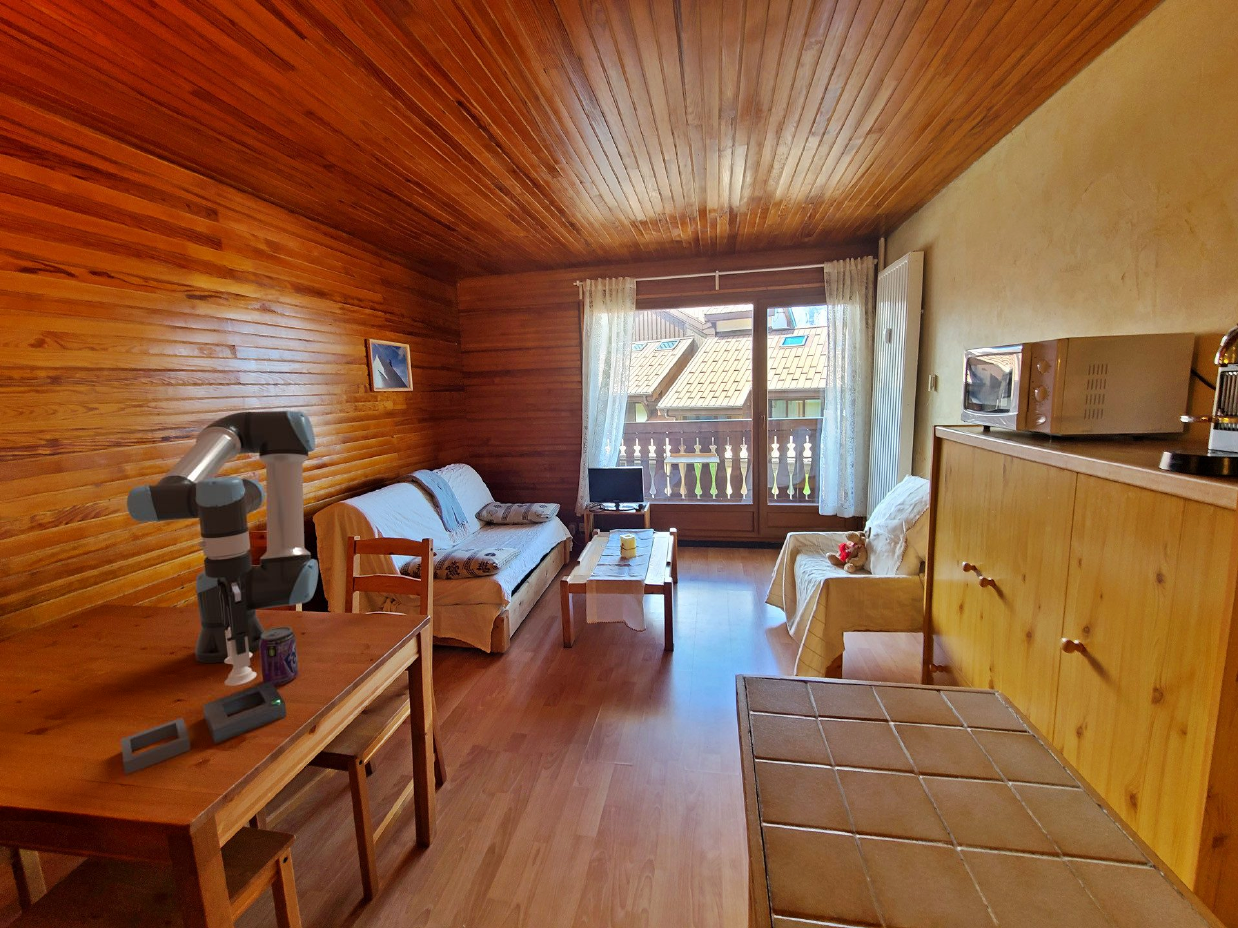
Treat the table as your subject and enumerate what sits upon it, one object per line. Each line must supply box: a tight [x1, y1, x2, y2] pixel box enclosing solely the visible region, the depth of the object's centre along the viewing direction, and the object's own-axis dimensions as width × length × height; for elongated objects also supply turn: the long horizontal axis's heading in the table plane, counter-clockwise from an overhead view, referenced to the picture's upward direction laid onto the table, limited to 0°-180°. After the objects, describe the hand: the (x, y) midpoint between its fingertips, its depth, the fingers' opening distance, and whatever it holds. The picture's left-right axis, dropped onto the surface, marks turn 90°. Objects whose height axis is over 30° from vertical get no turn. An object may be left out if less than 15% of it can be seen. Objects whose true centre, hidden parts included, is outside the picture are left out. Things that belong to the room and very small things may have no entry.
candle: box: [223, 627, 257, 687], centre depth 104 cm, size 5×5×12 cm
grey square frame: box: [120, 717, 191, 776], centre depth 96 cm, size 9×9×2 cm
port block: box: [202, 681, 287, 745], centre depth 106 cm, size 12×12×3 cm
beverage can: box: [259, 626, 300, 686], centre depth 120 cm, size 7×7×12 cm
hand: (239, 662), depth 105 cm, fingers closed on candle, 5 cm apart
